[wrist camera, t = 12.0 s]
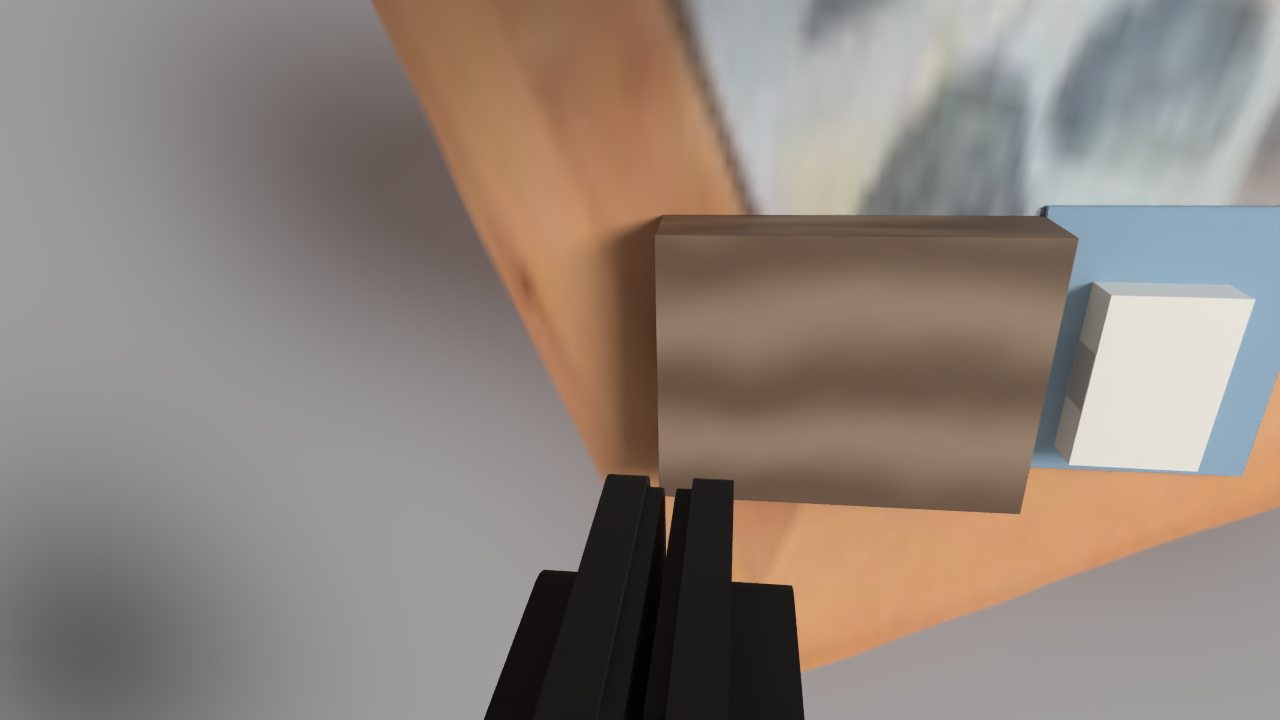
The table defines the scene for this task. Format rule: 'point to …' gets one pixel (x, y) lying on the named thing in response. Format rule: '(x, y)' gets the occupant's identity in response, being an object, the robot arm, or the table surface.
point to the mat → (1177, 254)
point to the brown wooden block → (857, 355)
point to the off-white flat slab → (1150, 374)
